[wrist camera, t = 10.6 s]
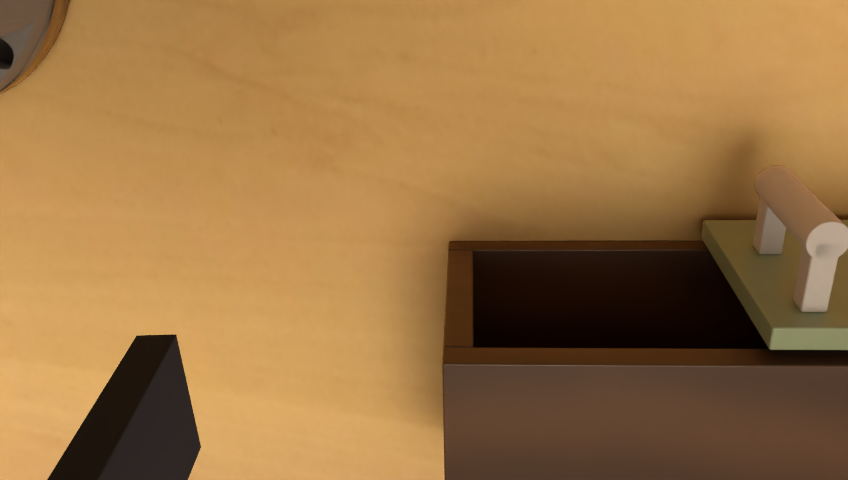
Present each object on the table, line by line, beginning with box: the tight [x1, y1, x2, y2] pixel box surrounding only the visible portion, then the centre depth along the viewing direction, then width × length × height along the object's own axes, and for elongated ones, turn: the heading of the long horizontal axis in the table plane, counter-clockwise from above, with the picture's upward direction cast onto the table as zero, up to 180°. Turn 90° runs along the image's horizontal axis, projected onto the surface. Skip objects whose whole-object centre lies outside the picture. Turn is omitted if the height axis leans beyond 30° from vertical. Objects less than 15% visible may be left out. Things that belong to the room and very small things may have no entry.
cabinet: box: [442, 241, 848, 480], centre depth 38 cm, size 12×28×11 cm, turn 92°
